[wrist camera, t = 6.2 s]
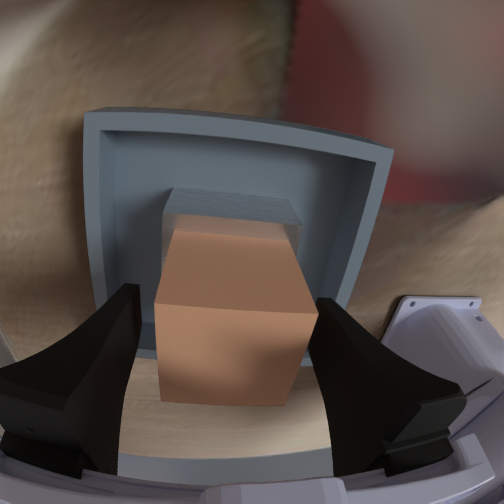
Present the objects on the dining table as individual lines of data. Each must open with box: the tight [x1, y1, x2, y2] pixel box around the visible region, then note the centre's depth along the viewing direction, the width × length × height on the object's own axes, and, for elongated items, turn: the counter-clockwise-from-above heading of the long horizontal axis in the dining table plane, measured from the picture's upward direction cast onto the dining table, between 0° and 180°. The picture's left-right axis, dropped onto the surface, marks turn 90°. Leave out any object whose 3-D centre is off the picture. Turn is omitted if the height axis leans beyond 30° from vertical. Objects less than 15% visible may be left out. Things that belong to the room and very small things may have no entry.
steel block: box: [161, 187, 303, 275], centre depth 16 cm, size 6×6×4 cm
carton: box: [154, 231, 318, 406], centre depth 13 cm, size 5×5×5 cm
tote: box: [83, 107, 394, 366], centre depth 17 cm, size 14×14×3 cm
